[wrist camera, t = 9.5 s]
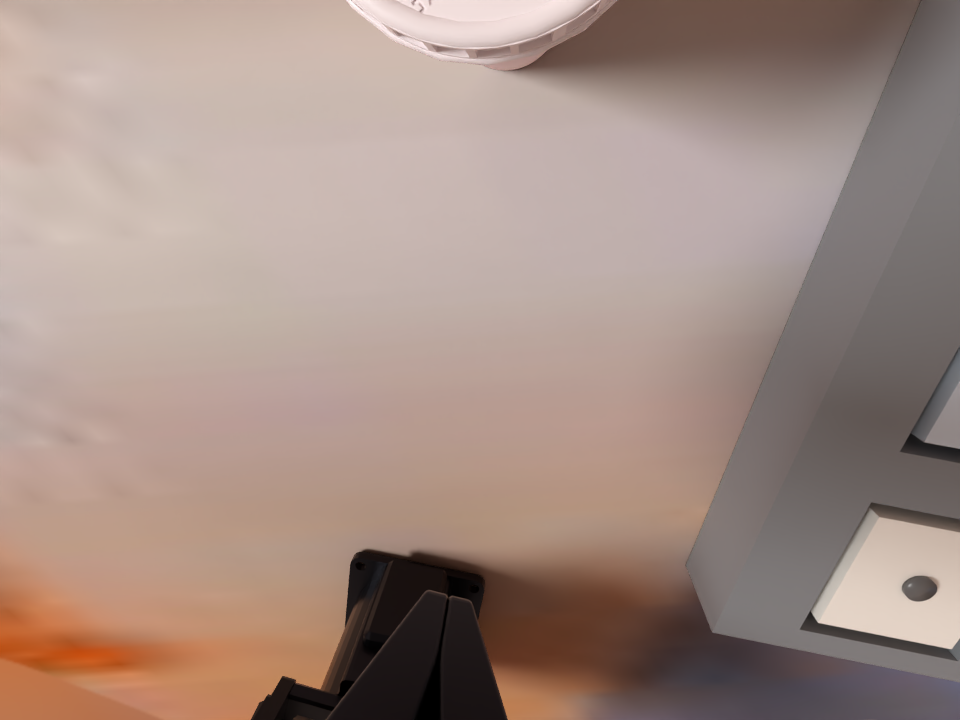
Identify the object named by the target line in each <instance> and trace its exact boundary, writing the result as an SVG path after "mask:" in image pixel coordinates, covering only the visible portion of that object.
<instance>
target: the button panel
mask: <svg viewBox="0 0 960 720" xmlns="http://www.w3.org/2000/svg"><path fill="white" fill-rule="evenodd" d="M959 346H960V0H921V2H920V5H919V7H918V9H917V12H916V14H915V17H914V19H913V21H912V24H911V26H910V29H909V31H908V33H907V36H906V38H905V41H904V43H903V45H902V48H901V50H900V53H899V55H898V57H897V60H896V62H895V65H894V67H893V69H892V72H891V74H890V77H889V79H888V81H887V84H886V86H885V89H884V91H883V93H882V96H881V98H880V101H879V103H878V105H877V108H876V110H875V113H874V115H873V117H872V120H871V122H870V125H869V127H868V129H867V132H866V134H865V137H864V139H863V141H862V144H861V146H860V149H859V151H858V153H857V156H856V158H855V161H854V163H853V165H852V168H851V170H850V173H849V175H848V177H847V180H846V182H845V185H844V187H843V189H842V192H841V194H840V197H839V199H838V201H837V204H836V206H835V209H834V211H833V213H832V216H831V218H830V221H829V223H828V225H827V228H826V230H825V233H824V235H823V237H822V240H821V242H820V245H819V247H818V249H817V252H816V254H815V257H814V259H813V261H812V264H811V266H810V269H809V271H808V273H807V276H806V278H805V281H804V283H803V285H802V288H801V290H800V292H799V295H798V297H797V300H796V302H795V304H794V307H793V309H792V312H791V314H790V316H789V319H788V321H787V324H786V326H785V328H784V331H783V333H782V336H781V338H780V340H779V343H778V345H777V348H776V350H775V352H774V355H773V357H772V360H771V362H770V364H769V367H768V369H767V372H766V374H765V376H764V379H763V381H762V384H761V386H760V388H759V391H758V393H757V396H756V398H755V400H754V403H753V405H752V408H751V410H750V412H749V415H748V417H747V420H746V422H745V424H744V427H743V429H742V432H741V434H740V436H739V439H738V441H737V444H736V446H735V448H734V451H733V453H732V456H731V458H730V460H729V463H728V465H727V468H726V470H725V472H724V475H723V477H722V480H721V482H720V484H719V487H718V489H717V492H716V494H715V496H714V499H713V501H712V504H711V506H710V508H709V511H708V513H707V516H706V518H705V520H704V523H703V525H702V528H701V530H700V532H699V535H698V537H697V540H696V542H695V544H694V547H693V549H692V552H691V554H690V556H689V559H688V561H687V564H686V568H687V570H688V573H689V575H690V578H691V580H692V583H693V585H694V588H695V590H696V593H697V595H698V598H699V600H700V603H701V605H702V608H703V610H704V613H705V616H706V618H707V621H708V623H709V626H710V628H711V631H712V633H717V634H722V635H727V636H732V637H737V638H742V639H747V640H752V641H757V642H762V643H767V644H772V645H777V646H782V647H787V648H792V649H797V650H802V651H807V652H811V653H816V654H821V655H826V656H831V657H836V658H841V659H846V660H851V661H856V662H861V663H866V664H871V665H876V666H881V667H886V668H891V669H896V670H901V671H906V672H911V673H916V674H921V675H926V676H931V677H936V678H941V679H946V680H951V681H956V682H960V639H959V640H958V641H957V643H956V644H955V646H954V647H953V648H952V649H947V648H942V647H937V646H932V645H927V644H922V643H917V642H912V641H907V640H902V639H897V638H892V637H887V636H882V635H877V634H872V633H867V632H862V631H857V630H852V629H847V628H842V627H837V626H832V625H827V624H822V623H818V622H817V620H816V619H815V617H814V616H813V614H812V613H811V611H810V610H811V608H812V607H813V605H814V603H815V601H816V599H817V598H818V596H819V594H820V592H821V591H822V589H823V587H824V585H825V584H826V582H827V580H828V578H829V576H830V575H831V573H832V571H833V569H834V568H835V566H836V564H837V562H838V560H839V559H840V557H841V555H842V553H843V552H844V550H845V548H846V546H847V545H848V543H849V541H850V539H851V537H852V536H853V534H854V532H855V530H856V529H857V527H858V525H859V523H860V522H861V520H862V518H863V516H864V514H865V513H866V511H867V509H868V507H869V506H870V504H871V502H872V503H877V504H883V505H888V506H893V507H898V508H903V509H909V510H914V511H919V512H924V513H929V514H935V515H940V516H945V517H950V518H955V519H960V449H957V448H952V447H947V446H941V445H936V444H931V443H926V442H923V441H922V440H920V439H919V438H917V437H916V436H914V435H913V434H911V431H912V429H913V428H914V426H915V424H916V422H917V421H918V419H919V417H920V415H921V413H922V412H923V410H924V408H925V406H926V405H927V403H928V401H929V399H930V398H931V396H932V394H933V392H934V390H935V389H936V387H937V385H938V383H939V382H940V380H941V378H942V376H943V374H944V373H945V371H946V369H947V367H948V366H949V364H950V362H951V360H952V359H953V357H954V355H955V353H956V351H957V350H958V348H959Z"/></svg>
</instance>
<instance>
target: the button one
mask: <svg viewBox="0 0 960 720" xmlns="http://www.w3.org/2000/svg"><path fill="white" fill-rule="evenodd" d="M810 611H811V613H812V614H813V616H814V617H815V619H816V620H817V622H818V623H822V624H827V625H832V626H837V627H842V628H847V629H852V630H857V631H862V632H867V633H872V634H877V635H882V636H887V637H892V638H897V639H902V640H907V641H912V642H917V643H922V644H927V645H932V646H937V647H942V648H947V649H952V648H953V647H954V646H955V644H956V643H957V641H958V640H959V639H960V519H955V518H950V517H945V516H940V515H935V514H929V513H924V512H919V511H914V510H909V509H903V508H898V507H893V506H888V505H883V504H877V503H872V502H871V504H870V506H869V507H868V509H867V511H866V513H865V514H864V516H863V518H862V520H861V522H860V523H859V525H858V527H857V529H856V530H855V532H854V534H853V536H852V537H851V539H850V541H849V543H848V545H847V546H846V548H845V550H844V552H843V553H842V555H841V557H840V559H839V560H838V562H837V564H836V566H835V568H834V569H833V571H832V573H831V575H830V576H829V578H828V580H827V582H826V584H825V585H824V587H823V589H822V591H821V592H820V594H819V596H818V598H817V599H816V601H815V603H814V605H813V607H812V608H811V610H810Z"/></svg>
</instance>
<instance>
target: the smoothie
mask: <svg viewBox="0 0 960 720" xmlns="http://www.w3.org/2000/svg"><path fill="white" fill-rule="evenodd" d="M346 1H347V2H348V3H349V5H350V6H351V7H352V8H353V9H354V10H355V11H356V12H358V13H359V14H360V15H361V16H363V17H364V18H365V19H366V20H368V21H369V22H370V23H371V24H373V25H374V26H375V27H376V28H378V29H379V30H380V31H381V32H383V33H384V34H385V35H386V36H388V37H389V38H390V39H391V40H393V41H394V42H397V43H399V44H401V45H404V46H406V47H408V48H411V49H413V50H416V51H418V52H420V53H423V54H425V55H427V56H430V57H432V58H435V59H437V60H439V61H449V62H459V63H468V64H478V65H484V66H486V67H489V68H492V69H496V70H514V69H519V68H522V67H525V66H527V65H529V64H531V63H533V62H534V61H536V60H537V59H538V58H540V57H541V56H542V55H543V54H544V53H545V52H546V51H547V50H548V49H550V48H552V47H554V46H556V45H558V44H560V43H562V42H564V41H566V40H568V39H569V38H571V37H573V36H575V35H577V34H579V33H581V32H583V31H585V30H586V29H587V28H588V27H589V26H590V25H591V24H592V23H593V22H594V21H596V20H597V19H598V18H599V17H600V16H601V15H602V14H603V13H604V12H605V11H607V10H608V9H609V8H610V7H611V6H612V5H613V4H614V3H615V2H616V1H618V0H346Z"/></svg>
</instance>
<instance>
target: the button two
mask: <svg viewBox="0 0 960 720" xmlns="http://www.w3.org/2000/svg"><path fill="white" fill-rule="evenodd" d="M911 434H913V435H914V436H916V437H917V438H919V439H920V440H922V441H923V442H926V443H931V444H936V445H941V446H947V447H952V448H957V449H960V346H959V348H958V350H957V351H956V353H955V355H954V357H953V359H952V360H951V362H950V364H949V366H948V367H947V369H946V371H945V373H944V374H943V376H942V378H941V380H940V382H939V383H938V385H937V387H936V389H935V390H934V392H933V394H932V396H931V398H930V399H929V401H928V403H927V405H926V406H925V408H924V410H923V412H922V413H921V415H920V417H919V419H918V421H917V422H916V424H915V426H914V428H913V429H912V431H911Z"/></svg>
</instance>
